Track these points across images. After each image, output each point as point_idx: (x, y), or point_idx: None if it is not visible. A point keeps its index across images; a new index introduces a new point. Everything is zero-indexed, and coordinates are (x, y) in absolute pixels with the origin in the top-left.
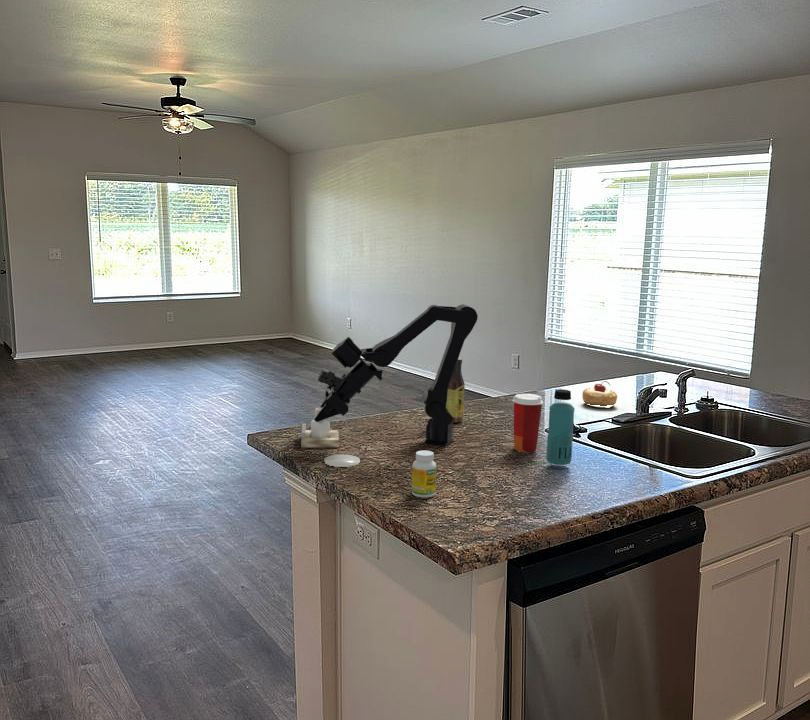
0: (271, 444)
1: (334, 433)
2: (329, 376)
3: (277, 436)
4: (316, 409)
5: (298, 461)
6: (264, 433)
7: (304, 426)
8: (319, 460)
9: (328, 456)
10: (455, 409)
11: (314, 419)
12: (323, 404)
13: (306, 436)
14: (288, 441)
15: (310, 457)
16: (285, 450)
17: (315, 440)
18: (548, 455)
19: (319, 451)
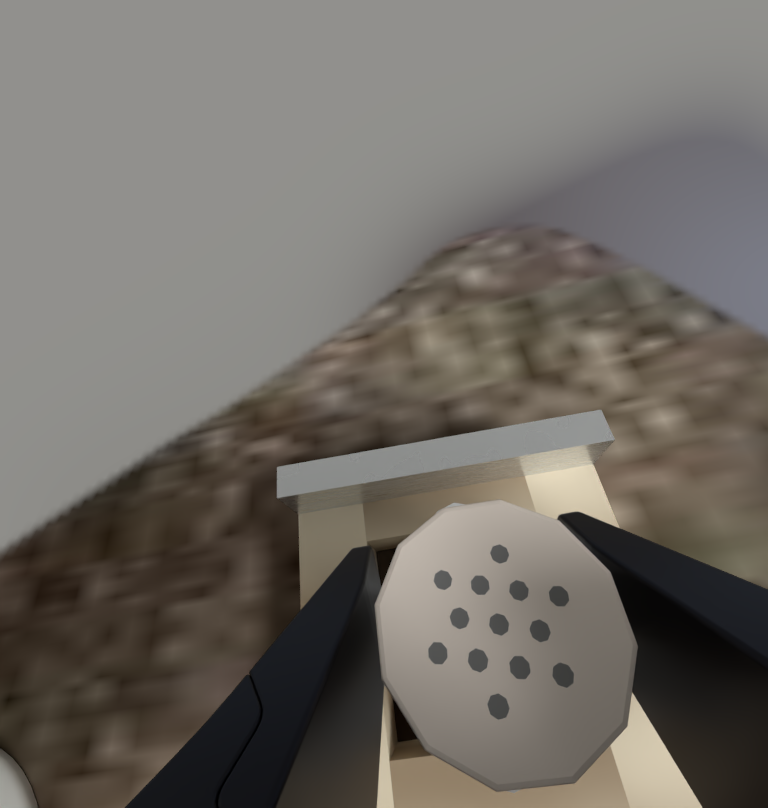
0: (364, 331)
1: (579, 802)
2: None
3: (532, 318)
4: (401, 544)
5: (33, 541)
6: (569, 249)
7: (493, 448)
8: (8, 690)
9: (1, 775)
10: None
11: (352, 550)
12: (748, 677)
13: (404, 504)
14: (439, 397)
15: (90, 607)
16: (253, 423)
17: (300, 603)
18: None
19: (217, 657)
